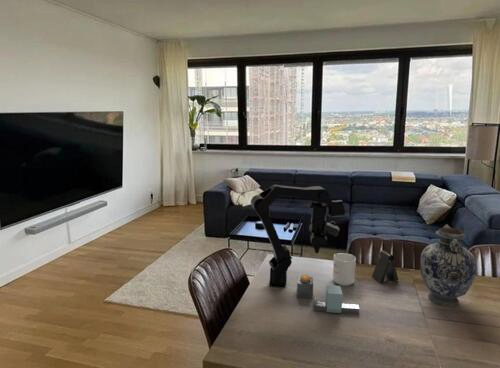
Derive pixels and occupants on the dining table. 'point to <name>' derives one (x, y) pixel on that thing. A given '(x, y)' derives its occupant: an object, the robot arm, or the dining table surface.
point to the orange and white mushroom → (305, 278)
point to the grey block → (334, 298)
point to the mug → (344, 269)
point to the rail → (345, 309)
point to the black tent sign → (385, 268)
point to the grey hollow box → (304, 288)
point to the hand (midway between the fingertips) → (316, 252)
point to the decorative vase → (447, 267)
